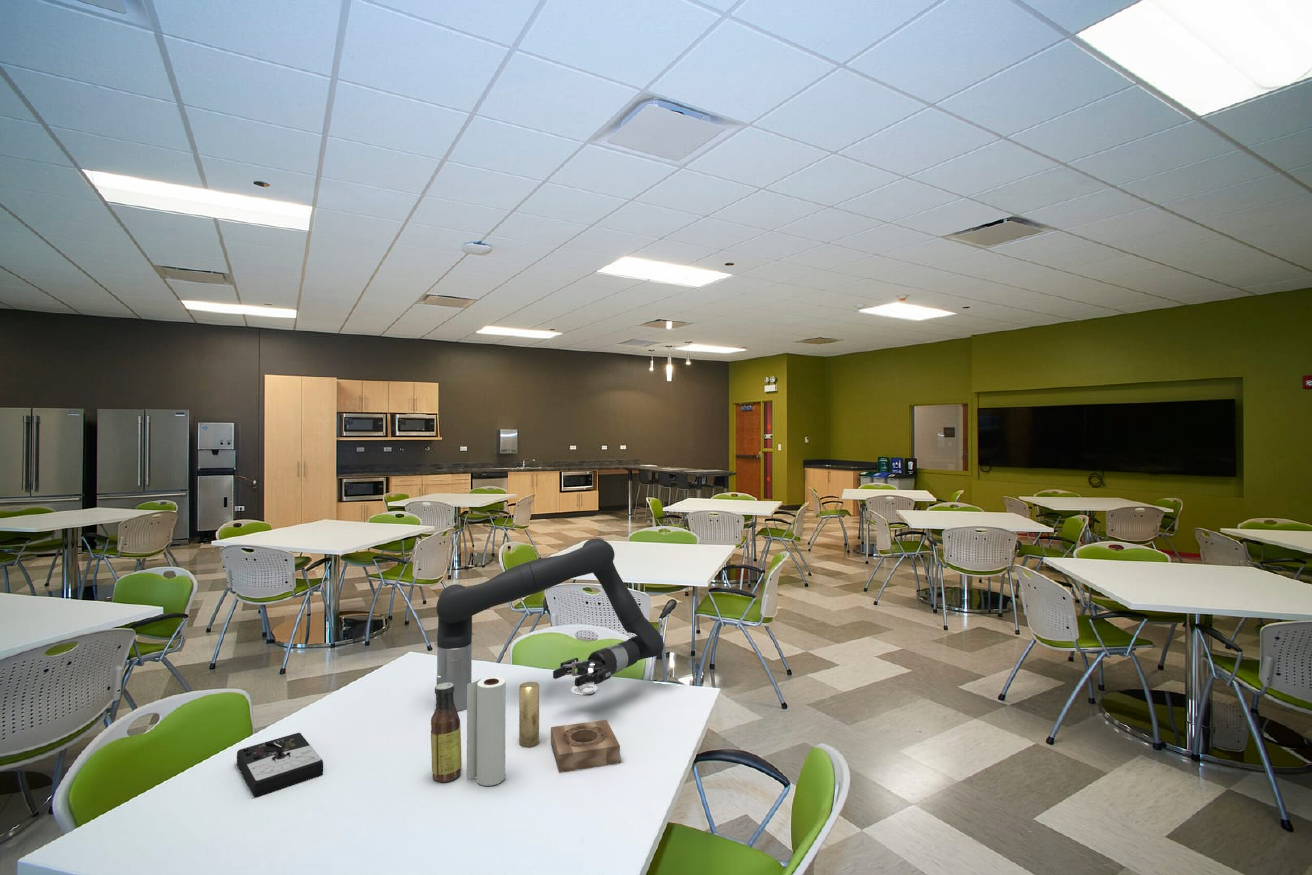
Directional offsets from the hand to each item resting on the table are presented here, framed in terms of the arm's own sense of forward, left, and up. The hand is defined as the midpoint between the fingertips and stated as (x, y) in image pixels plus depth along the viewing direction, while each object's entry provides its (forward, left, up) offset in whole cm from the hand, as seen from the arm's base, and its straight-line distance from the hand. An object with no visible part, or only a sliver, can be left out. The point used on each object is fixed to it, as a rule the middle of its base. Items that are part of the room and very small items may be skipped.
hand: (564, 678), depth 160 cm
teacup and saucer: (+7, +21, -13) cm, 25 cm away
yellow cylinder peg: (-10, -6, -12) cm, 17 cm away
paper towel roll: (-20, -20, -13) cm, 31 cm away
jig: (+2, -15, -12) cm, 20 cm away
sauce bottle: (-29, -16, -13) cm, 35 cm away
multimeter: (-65, -2, -13) cm, 66 cm away
